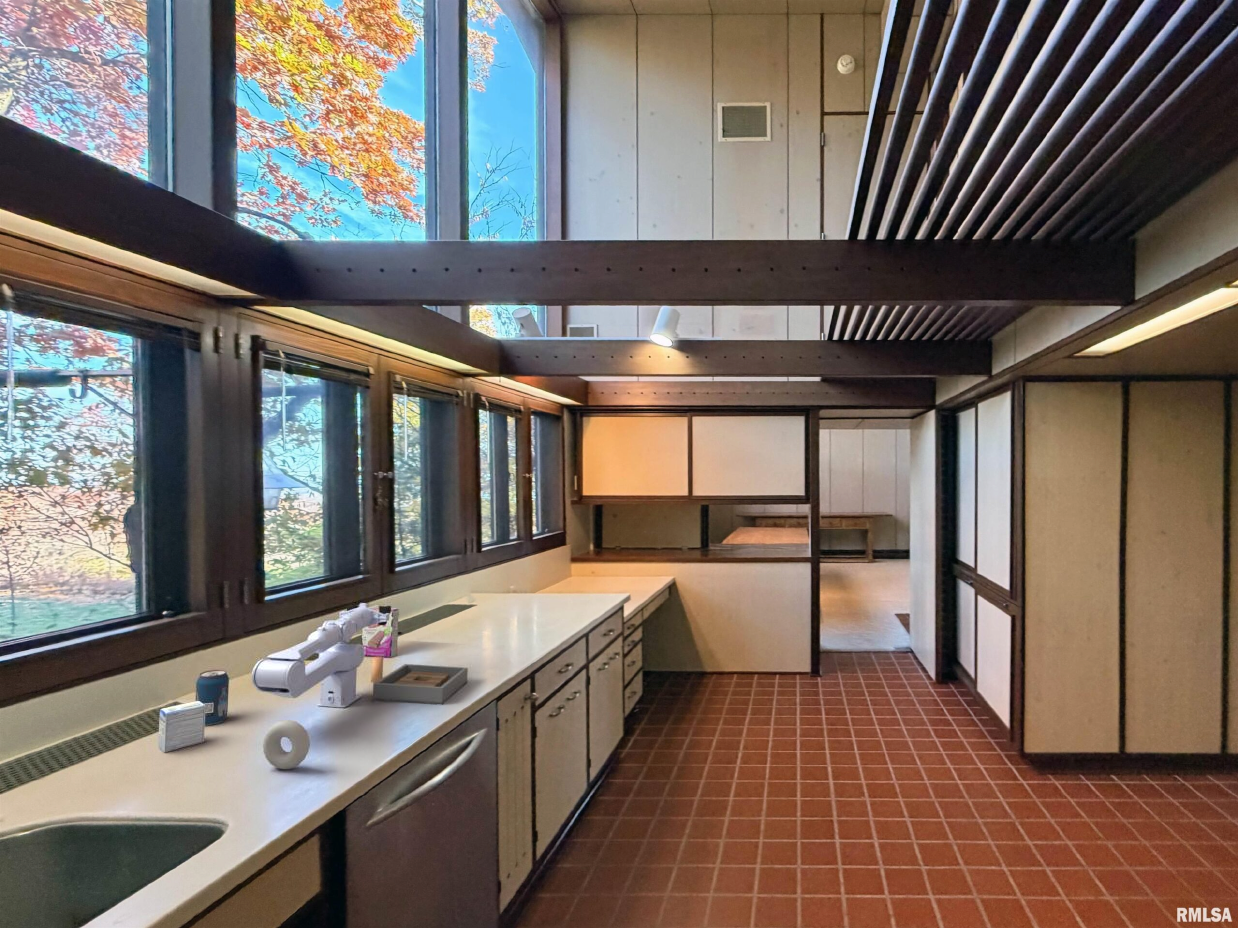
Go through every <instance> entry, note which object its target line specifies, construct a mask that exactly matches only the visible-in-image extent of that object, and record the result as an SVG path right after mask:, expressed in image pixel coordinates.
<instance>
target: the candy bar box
mask: <svg viewBox="0 0 1238 928" xmlns="http://www.w3.org/2000/svg"><path fill="white" fill-rule="evenodd" d="M367 607H368V608H371V609H373V610H375V611H378V612H379V606H367ZM399 612H400V608H399V607H398V608H397V607H391V613H390V614H389V620H388V621H387V624H385V625H378V623H377V624H374V625H371V626H368V627H365V628H363V629H361V645H362V646H363V648H364V651H365V655H364V657H369V656H370V657H372V658H373V657H383V658H386V659H387V658H388V659H392V658H394V657H395V656H397V655H398V640H399V639H398V638H399V637H398V634H399V614H400V613H399Z"/></svg>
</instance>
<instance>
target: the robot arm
mask: <svg viewBox="0 0 1238 928" xmlns="http://www.w3.org/2000/svg"><path fill="white" fill-rule="evenodd" d="M368 607H369V606H368V604H367V603H366V602H365V603H364V602H360V603H359V605H356V604H348V605H347V606H346V610H342V611H340V612H339V618H338V619H335V620H332V619H330V620H325V621H324V622H323V623H322V626H320V627H317V629H316V631H313V632H312V633H310V634H309V635H308V637H307V640H305V641H303V642H301V643H298V644H296V645H293V646H291V647H289V648H287V649H285V650H284V649H283V650H280V651H277V652H274V653H271V654H269V655H268V656H266V658H263V659H260V660H258V661H257V663H256V664H255V665H254V666H253V668H252V672H251V682H252V684H253V686H254V687H255V689H256V690H257V691H258V692H262V693H267V694H272V695H274V696H277V697H279V698H285V699H286V698H287V699H297V698H298V697H300V696H302V695H303V694H304V693H306V692H308V691H309V690H310V689H312V688H313V687H315V686H316V685H317V684H319V683H320V702H318V703H317V704H316V705H317V706H318V707H330V708H331V707H332V708H346V707H348V706H350V705H351V704H353V703H354V702H355V701H357V700H358V699H360V698H362V697H363V695H362V694H357V693H356V692H357V673H358V672H357V671H358V670H357V669H358V668H359V667H360V666H361V664H362V663H363V662H364V660H365V659H364V658H365V656H364V655H365V651H364V648H363V646H362V643H356V644H353V643H352V644H351V643H349V642H350V641H351V640H352V638H353V636H354V635H355V634H356V633H359V631H362V629H363V628H365V627H368V626H371V625H374V624H377V623H378V625H385V624H387V621H388V620H389V614H390V613H391V608H392V606H391V605H386V606H384V605H383V606H382V605H379V606H378V607H379V612H378V611H375V610H373V609H371V608H368ZM314 654H318V658H316V659H314V660H313V661H311V662H310V663H308V664H307V665H306V662H305V661H306V660H307V659H308V658H309V657H311V656H312V655H314ZM267 658H268V659H267Z"/></svg>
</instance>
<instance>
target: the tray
mask: <svg viewBox="0 0 1238 928" xmlns="http://www.w3.org/2000/svg"><path fill="white" fill-rule="evenodd" d="M412 671H413V672H429V673H445V674H450V680H448V681H447V682H446V683H445V684H443V685H442V686H441V687H434V686H419V685H403V684H394V683H395V682H397V681H398V680H400V679H401V678H403V677H404V676H406V675H407V674H409V673H410V672H412ZM468 672H469V671H468V667H460V666H458V667H457V666H444V665H442V666H441V665H429V664H428V665H426V664H412V663H411V664H410V663H409V664H408V663H404V664H403V665H402V666H400V667H398V668H396V669H395V670H394V671H392V672H390V673H388V674H387V675H385V676H384V677H382V679H380V680H379V681H377V682H375V683H373V685H372V701H381V702H396V703H397V702H398V703H408V704H409V703H410V704H411V703H412V704H422V703H423V704H427V705H431V704H430V703H433V704H432V705H437V704H442V705H443V704H445V703H446V702H447V701H448V700H449V699H450V698H451V697H453V696H454V695H455V694H456V693H458V691H459V690H461V689H462V688H463V687H464V686H465V685H466V684H467V683H468ZM453 694H454V695H453ZM452 695H453V696H452ZM445 701H446V702H445ZM444 702H445V703H444ZM428 703H429V704H428Z"/></svg>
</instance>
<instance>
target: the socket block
mask: <svg viewBox="0 0 1238 928" xmlns="http://www.w3.org/2000/svg"><path fill="white" fill-rule="evenodd" d="M448 680H450V674H445V673H429V672H413V671H412V672H410V673H409V674H407V675H406V676H404V677H403V678H401V679H400V680H398V681H397V682H395V683H394V684H403V685H419V686H434V687H441V686H442V685H443V684H445V683H446V682H447V681H448Z"/></svg>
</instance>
